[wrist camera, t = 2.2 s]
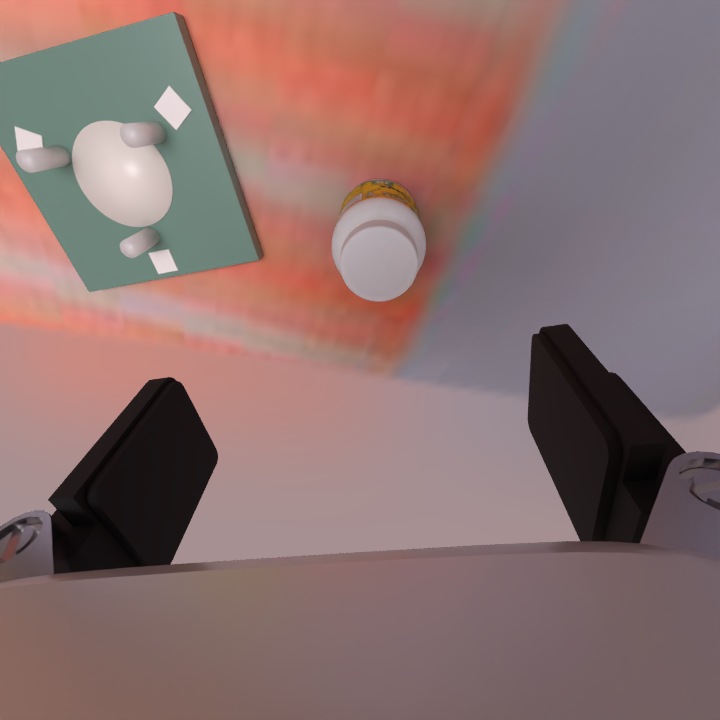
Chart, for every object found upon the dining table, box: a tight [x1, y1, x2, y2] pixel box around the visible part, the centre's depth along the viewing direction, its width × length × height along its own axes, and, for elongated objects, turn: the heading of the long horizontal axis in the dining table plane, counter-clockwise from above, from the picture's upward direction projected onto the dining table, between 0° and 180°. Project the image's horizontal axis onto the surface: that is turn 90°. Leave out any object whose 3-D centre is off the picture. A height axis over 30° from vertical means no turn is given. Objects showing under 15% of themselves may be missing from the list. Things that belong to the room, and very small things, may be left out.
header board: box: [0, 12, 263, 292], centre depth 25 cm, size 14×14×4 cm
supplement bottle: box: [332, 179, 426, 302], centre depth 24 cm, size 5×5×10 cm
